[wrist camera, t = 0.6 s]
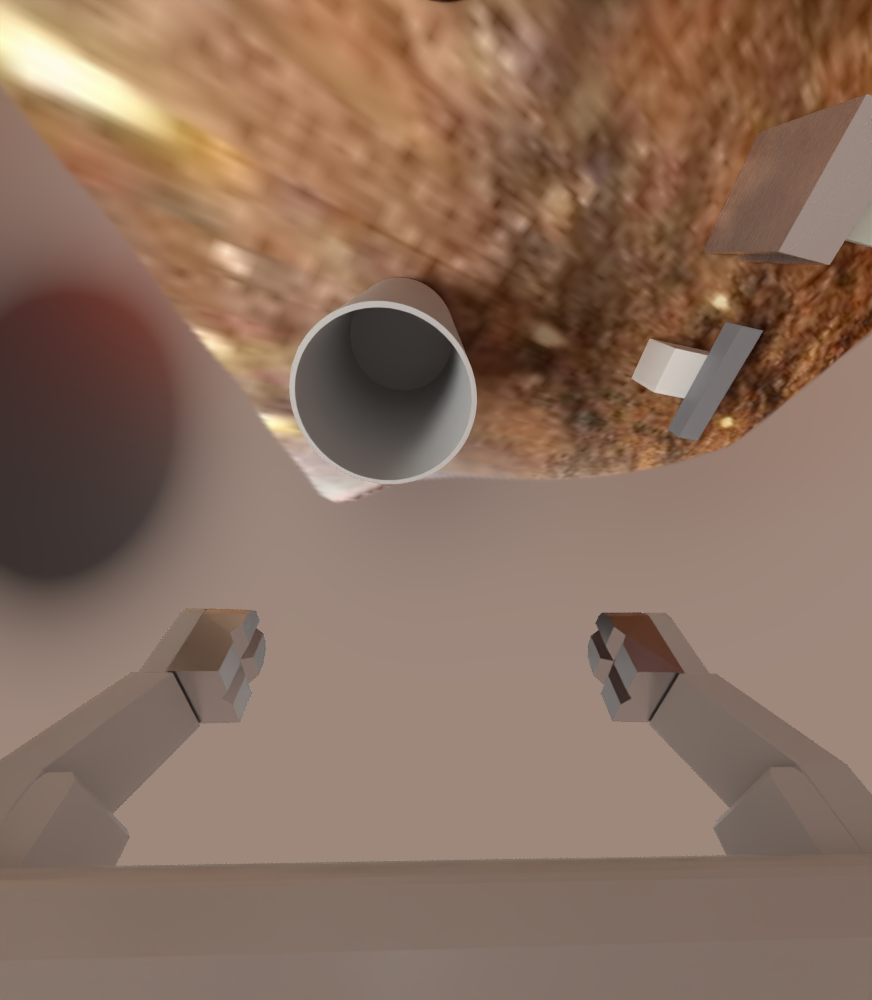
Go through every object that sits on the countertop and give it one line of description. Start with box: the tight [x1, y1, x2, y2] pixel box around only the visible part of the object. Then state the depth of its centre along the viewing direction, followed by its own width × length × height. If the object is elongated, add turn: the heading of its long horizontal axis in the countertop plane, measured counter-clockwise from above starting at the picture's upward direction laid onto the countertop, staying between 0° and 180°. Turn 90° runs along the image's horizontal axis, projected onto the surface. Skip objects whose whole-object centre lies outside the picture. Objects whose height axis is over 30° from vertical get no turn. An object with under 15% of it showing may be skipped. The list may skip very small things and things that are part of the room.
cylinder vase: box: [289, 278, 477, 484], centre depth 37 cm, size 12×12×25 cm
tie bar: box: [668, 322, 763, 441], centre depth 43 cm, size 12×2×2 cm, turn 169°
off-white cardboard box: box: [631, 339, 709, 398], centre depth 48 cm, size 5×8×6 cm, turn 79°
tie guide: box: [702, 94, 872, 265], centre depth 36 cm, size 10×5×11 cm, turn 169°
